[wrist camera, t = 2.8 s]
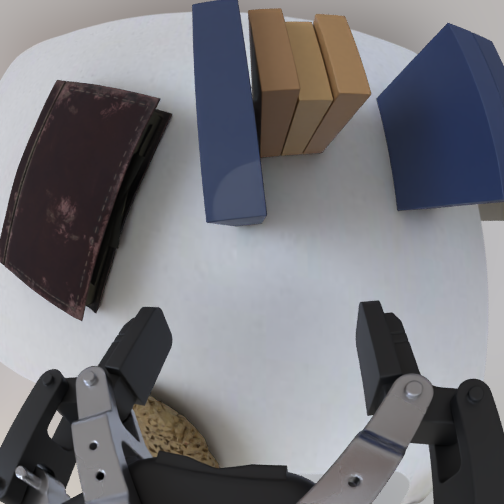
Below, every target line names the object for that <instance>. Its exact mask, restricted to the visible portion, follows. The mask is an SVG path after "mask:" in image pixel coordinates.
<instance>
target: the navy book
mask: <svg viewBox="0 0 504 504" xmlns="http://www.w3.org/2000/svg"><path fill="white" fill-rule="evenodd" d="M192 16H193V53H194V76H195V94H196V110H197V125H198V138H199V151H200V162H201V174H202V184H203V194H204V204H205V214H206V222H207V223H214V224H222V225H229V226H243V225H252V224H261V223H262V222H263V221H264V219H265V217H266V216H267V211H266V202H265V194H264V185H263V177H262V169H261V161H260V153H259V145H258V137H257V129H256V122H255V114H254V107H253V99H252V92H251V85H250V78H249V71H248V64H247V57H246V50H245V43H244V37H243V30H242V24H241V17H240V11H239V5H238V0H216V1H210V2H204V3H198V4H193V5H192Z"/></svg>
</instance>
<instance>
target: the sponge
mask: <svg viewBox="0 0 504 504" xmlns="http://www.w3.org/2000/svg"><path fill="white" fill-rule="evenodd" d="M132 409H133V410H134V412H135V415H136V418H137V422H138V425H139V428H140V431H141V434H142V437H143V440H144V442H145V445H146V447H147V449H148V451H149V452H150V453H151V455H152V457H157V454H158V452H159V450H161V451H165V452H170V453H174V454H179V455H184V456H188V457H190V458H193V459H195V460H197V461H200V462H202V463H204V464H207V465H209V466H212V467H215V468H220V467H219V464H218V462H217V461H216V460H215V459H214V457H213V456H212V454H211V453H210V452H209V451H208V446H207V444H206V441H205V439H204V437H203V436H202V435H201V434H200V433H199V431H198V430H197V429H196V428H195V427H194V426H193V425H192V424H191V423H190V422H189V421H188V420H187V419H186V418H185V417H184V416H183V415H179V414H178V412H177V411H175V410H174V409H172V408H170V407H169V406H167V405H166V404H164V403H162V401H156V399H155V398H154V397H151V396H149V397H148V400H147V402H146V404H145V406H143V405H138V404H134V406H133V408H132Z"/></svg>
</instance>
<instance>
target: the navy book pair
mask: <svg viewBox="0 0 504 504" xmlns="http://www.w3.org/2000/svg"><path fill="white" fill-rule="evenodd" d="M377 102H378V106H379V110H380V114H381V118H382V122H383V127H384V131H385V136H386V141H387V146H388V151H389V156H390V162H391V168H392V174H393V180H394V187H395V194H396V202H397V210H398V211H401V210H415V209H429V208H441V207H452V206H462V205H474V204H485V203H497V202H504V66H503V63H502V61H501V59H500V57H499V55H498V53H497V51H496V49H495V47H494V45H493V43H492V41H490V40H487V39H486V38H484V37H481V36H479V35H477V34H475V33H471V32H470V31H468V30H465V29H463V28H460V27H457V26H455V25H452V24H450V23H447V24H446V25H445V26H444V27H443V28H442V29H441V30H440V32H439V33H438V34H437V35H436V36H435V37H434V38H433V39H432V40H431V41H430V42H429V43H428V44H427V45H426V46H425V47H424V48H423V49H422V51H421V52H420V53H419V54H418V55H417V56H416V57H415V58H414V59H413V60H412V61H411V62H410V63H409V64H408V65H407V66H406V68H405V69H404V70H403V71H402V72H401V73H400V74H399V75H398V76H397V77H396V78H395V79H394V80H393V81H392V83H391V84H390V85H389V86H388V87H387V88H386V89H385V90H384V91H383V92H382V93H381V94H380V95H379V96H378V98H377Z"/></svg>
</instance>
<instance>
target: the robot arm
mask: <svg viewBox="0 0 504 504" xmlns="http://www.w3.org/2000/svg"><path fill="white" fill-rule="evenodd" d="M171 346H172V334H171V332H170V329H169V327H168V324H167V322H166V319H165V317H164V314H163V312H162V310H161V309H160V308H159V307H142V308H141V309H140V311H139V312H138V314H137V315H136V317H135V318H132V319H131V320H130V321H129V322H128V323H126V324H125V325H124V326H123V328H122V329H121V331H120V332H119V335H117V337H116V338H115V340H114V342H113V343H112V345H111V346H110V348H109V349H108V351H107V352H106V354H105V355H104V357H103V359H102V360H101V362H100V363H99V365H98V366H91V367H88V368H86V369H84V370H83V371H82V372H81V373H80V374H79V375H78V377H75V378H64V376H63V375H62V374H61V372H60V371H59V370H56V369H52V370H48V371H46V372H45V373H44V374H43V375H42V376H41V377H40V378H39V380H38V381H37V383H36V385H35V386H34V388H33V389H32V391H31V393H30V394H29V396H28V398H27V399H26V401H25V403H24V404H23V406H22V408H21V410H20V411H19V413H18V415H17V417H16V419H15V420H14V422H13V424H12V426H11V428H10V430H9V431H8V433H7V435H6V437H5V440H4V441H3V443H2V445H1V447H0V501H1V502H3V503H5V504H372V502H373V501H374V500H375V498H376V497H377V496H378V494H379V493H380V492H381V490H382V489H383V487H384V486H385V485H386V483H387V482H388V480H389V479H390V477H391V476H392V474H393V473H394V471H395V470H396V468H397V466H398V465H399V463H400V462H401V460H402V458H403V456H404V454H405V451H406V449H407V447H408V445H409V443H418V444H429V451H430V459H431V469H432V481H433V498H434V504H504V432H503V428H502V425H501V421H500V418H499V414H498V411H497V408H496V405H495V402H494V399H493V396H492V393H491V390H490V388H489V387H488V386H487V384H485V383H484V382H483V381H481V380H478V379H468V380H466V381H464V382H463V383H461V384H460V386H459V387H458V389H454V388H442V387H436V386H433V385H432V384H431V383H430V381H429V380H428V379H427V378H425V377H424V376H422V375H421V374H420V372H419V369H418V366H417V363H416V360H415V357H414V355H413V352H412V349H411V346H410V343H409V342H408V338H407V335H406V333H405V330H404V327H403V325H402V322H401V320H400V319H399V318H398V317H397V316H396V315H394V314H393V313H384V312H383V309H382V306H381V303H380V301H367V302H360V304H359V311H358V320H357V328H356V347H357V352H358V358H359V363H360V369H361V375H362V382H363V388H364V395H365V402H366V409H367V416H369V415H373V417H372V418H371V420H370V421H369V422H368V424H367V425H366V427H365V428H364V429H363V430H362V431H360V432H359V433H358V434H357V435H356V436H355V438H354V439H353V440H352V441H351V443H350V444H349V445H348V447H347V448H346V449H345V450H344V452H343V453H342V454H341V455H340V457H339V458H338V459H337V460H336V461H335V463H334V464H333V465H332V466H331V467H330V468H329V470H328V471H327V472H326V473H325V474H324V475H323V476H322V478H321V479H320V480H319V481H318V482H317V483H316V484H315V483H314V482H312V481H311V480H309V479H307V478H304V477H302V476H299V475H297V474H293V473H289V472H288V471H287V466H282V465H256V464H251V465H244V466H236V467H227V468H215V467H212V466H209V465H207V464H204V463H202V462H200V461H197V460H195V459H193V458H190V457H188V456H184V455H179V454H174V453H170V452H165V451H161V450H159V452H158V454H157V457H152V455H151V453H150V452H149V451H148V449H147V447H146V445H145V442H144V440H143V437H142V434H141V431H140V428H139V425H138V422H137V418H136V415H135V412H134V410H133V409H132V408H133V406H134V404H138V405H143V406H145V404H146V402H147V400H148V397H149V395H150V393H151V391H152V388H153V386H154V384H155V382H156V379H157V377H158V375H159V373H160V371H161V368H162V366H163V364H164V362H165V360H166V358H167V355H168V353H169V351H170V349H171ZM56 410H57V411H58V412H59V413H60V414H61V415H62V416H63V417H62V419H61V421H60V423H59V425H58V427H57V429H56V431H55V433H54V436H53V438H52V439H51V438H50V437H49V435H48V432H47V429H48V426H49V424H50V422H51V420H52V418H53V416H54V414H55V412H56ZM75 463H77V467H78V473H79V478H80V483H81V487H82V491H83V492H82V493H81V494H79V495H77V496H75V497H73V498H70V496H69V495H68V494H66V490H65V489H66V486H67V483H68V481H69V479H70V476H71V473H72V470H73V468H74V466H75Z"/></svg>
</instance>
